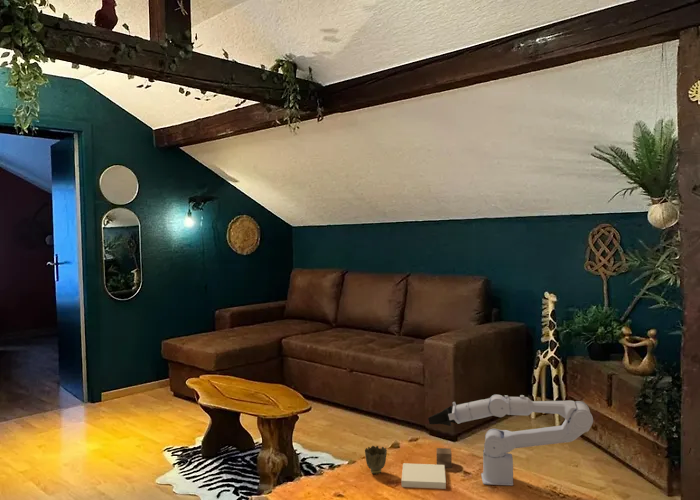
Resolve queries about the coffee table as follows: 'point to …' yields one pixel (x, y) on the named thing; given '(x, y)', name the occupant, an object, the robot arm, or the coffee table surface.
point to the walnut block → (444, 457)
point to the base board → (423, 476)
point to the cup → (375, 458)
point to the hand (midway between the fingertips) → (431, 419)
